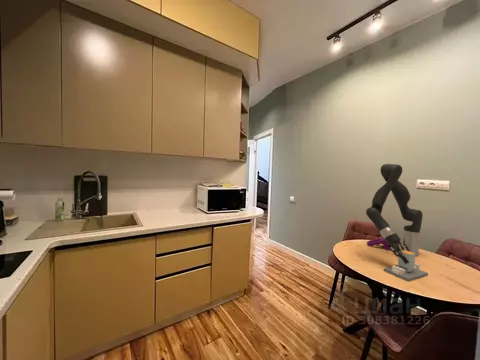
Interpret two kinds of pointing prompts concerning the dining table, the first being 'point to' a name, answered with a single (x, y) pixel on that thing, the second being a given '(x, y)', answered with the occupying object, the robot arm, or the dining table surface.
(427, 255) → the dining table surface
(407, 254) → the plate
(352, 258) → the dining table surface
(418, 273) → the mounting board
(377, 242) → the mounting bracket
